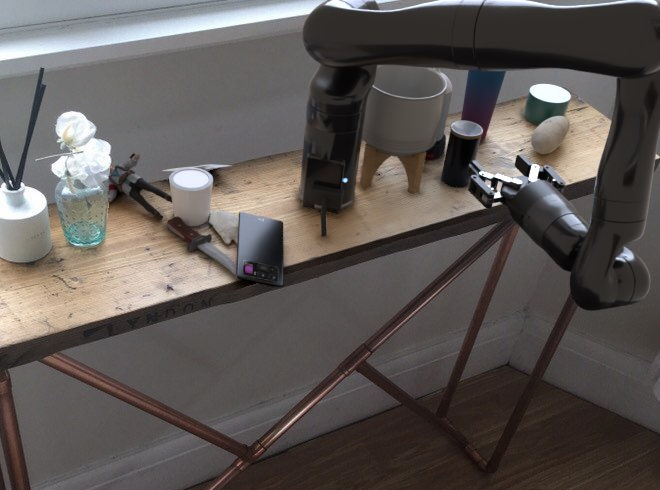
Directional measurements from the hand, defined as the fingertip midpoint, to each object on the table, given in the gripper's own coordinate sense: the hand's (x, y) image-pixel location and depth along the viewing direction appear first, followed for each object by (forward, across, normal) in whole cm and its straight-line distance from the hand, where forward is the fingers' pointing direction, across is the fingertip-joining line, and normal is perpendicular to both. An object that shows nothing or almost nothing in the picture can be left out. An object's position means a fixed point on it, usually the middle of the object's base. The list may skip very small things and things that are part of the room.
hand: (494, 162), depth 143 cm
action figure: (+10, +52, +6) cm, 54 cm away
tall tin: (+10, 0, +9) cm, 13 cm away
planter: (+14, +11, +9) cm, 20 cm away
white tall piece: (+21, +1, +9) cm, 23 cm away
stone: (+17, -23, +9) cm, 30 cm away
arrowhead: (0, +41, +8) cm, 42 cm away
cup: (+23, -10, +9) cm, 27 cm away
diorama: (+22, +44, +7) cm, 49 cm away
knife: (+2, +46, +8) cm, 47 cm away
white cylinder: (+10, +48, +9) cm, 50 cm away
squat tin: (+27, -28, +9) cm, 41 cm away
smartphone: (-3, +40, +7) cm, 41 cm away
